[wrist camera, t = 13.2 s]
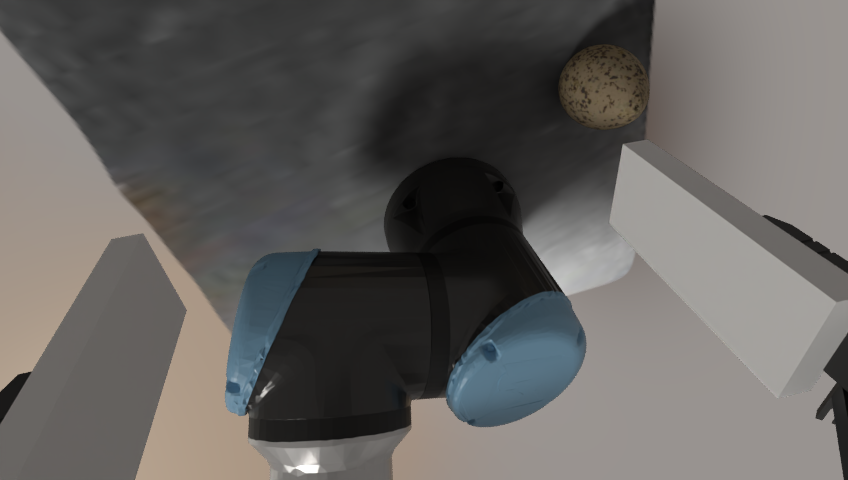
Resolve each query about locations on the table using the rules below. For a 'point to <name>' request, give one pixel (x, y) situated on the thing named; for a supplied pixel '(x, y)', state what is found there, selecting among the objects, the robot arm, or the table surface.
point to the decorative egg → (604, 87)
